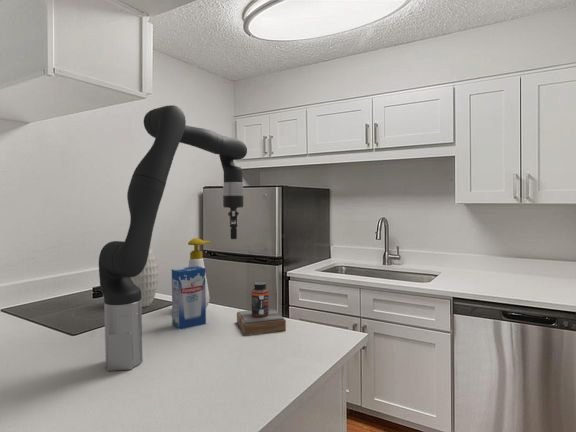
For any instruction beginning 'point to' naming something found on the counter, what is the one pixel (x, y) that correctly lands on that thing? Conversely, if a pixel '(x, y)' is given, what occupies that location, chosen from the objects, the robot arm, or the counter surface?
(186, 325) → the milk carton
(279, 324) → the walnut block
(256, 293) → the supplement bottle
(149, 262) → the vase
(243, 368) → the counter surface
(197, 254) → the soap bottle
